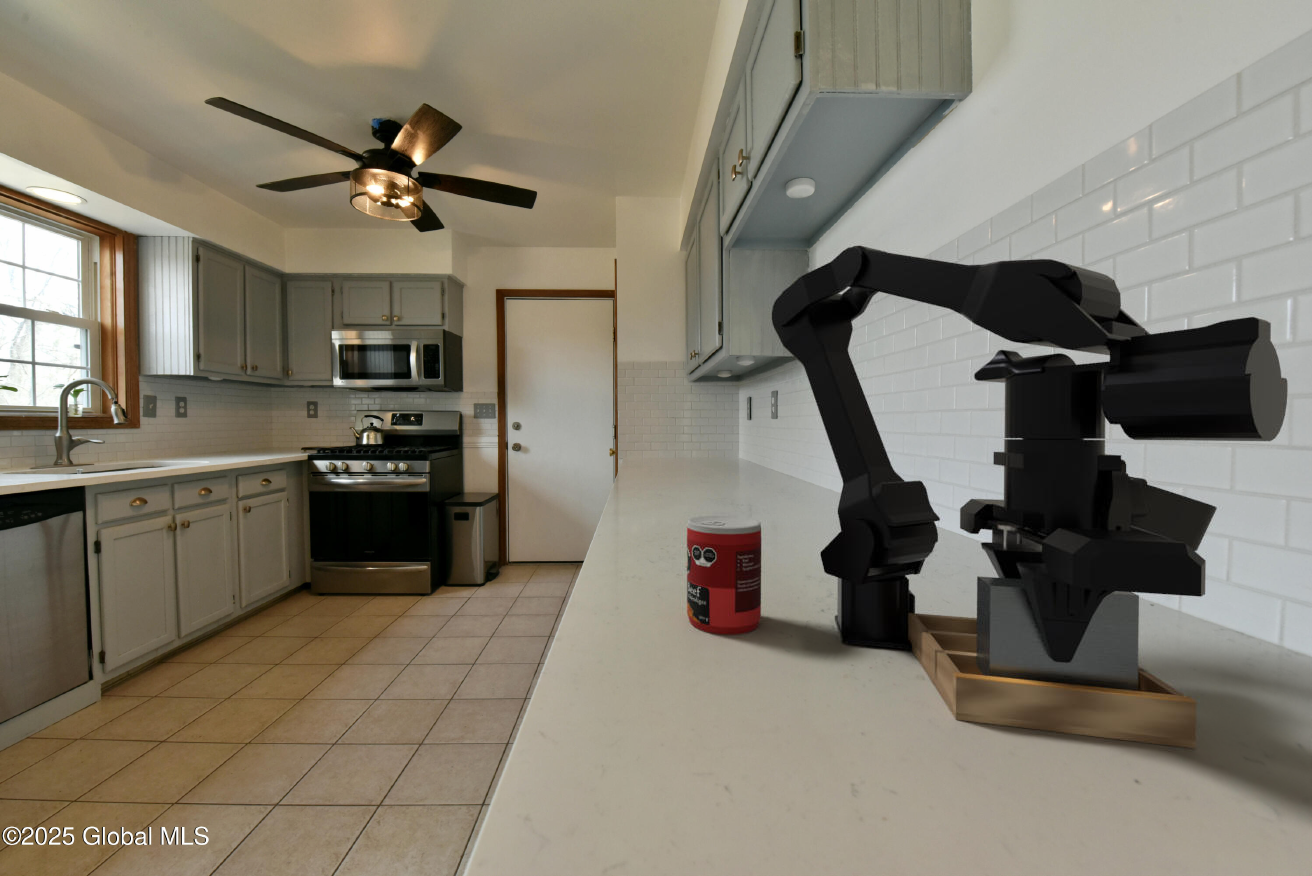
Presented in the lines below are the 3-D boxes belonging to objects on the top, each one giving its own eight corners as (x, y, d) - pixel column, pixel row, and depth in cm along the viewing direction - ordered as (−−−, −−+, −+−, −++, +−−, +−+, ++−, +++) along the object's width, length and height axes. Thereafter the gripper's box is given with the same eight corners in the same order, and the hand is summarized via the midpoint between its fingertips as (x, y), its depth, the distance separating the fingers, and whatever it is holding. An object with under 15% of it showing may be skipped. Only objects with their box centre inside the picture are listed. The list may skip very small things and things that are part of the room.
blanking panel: (989, 681, 36) (990, 585, 36) (976, 666, 38) (977, 576, 38) (1137, 697, 34) (1139, 595, 34) (1114, 680, 36) (1115, 584, 36)
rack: (955, 719, 35) (956, 676, 35) (907, 643, 48) (907, 611, 48) (1195, 748, 32) (1196, 701, 32) (1075, 658, 45) (1075, 624, 45)
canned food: (685, 608, 58) (685, 515, 58) (754, 609, 57) (754, 515, 57) (688, 635, 50) (688, 527, 50) (767, 636, 50) (767, 528, 50)
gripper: (1337, 442, 25) (1332, 749, 25) (1100, 438, 43) (1098, 616, 43) (1079, 441, 28) (1076, 719, 28) (958, 438, 46) (957, 606, 46)
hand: (1050, 652), depth 36 cm, fingers closed on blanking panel, 2 cm apart
